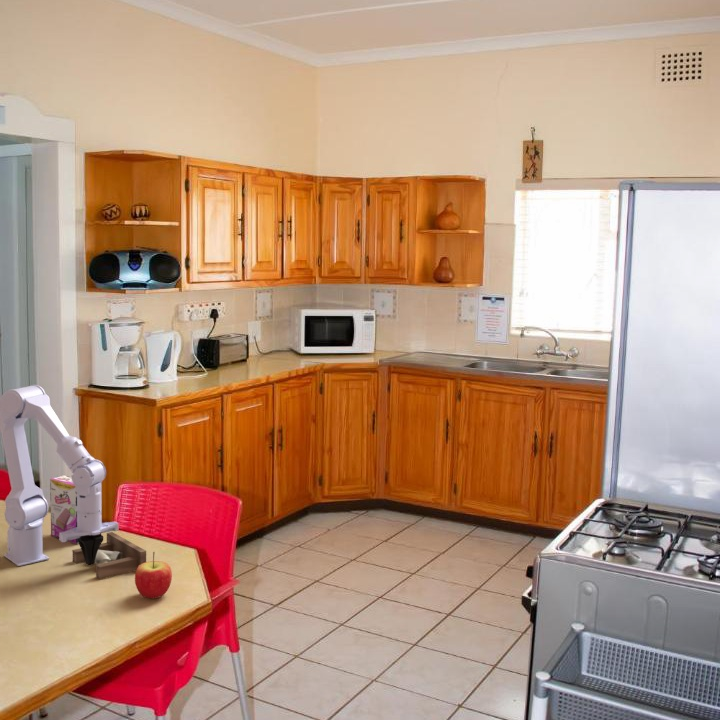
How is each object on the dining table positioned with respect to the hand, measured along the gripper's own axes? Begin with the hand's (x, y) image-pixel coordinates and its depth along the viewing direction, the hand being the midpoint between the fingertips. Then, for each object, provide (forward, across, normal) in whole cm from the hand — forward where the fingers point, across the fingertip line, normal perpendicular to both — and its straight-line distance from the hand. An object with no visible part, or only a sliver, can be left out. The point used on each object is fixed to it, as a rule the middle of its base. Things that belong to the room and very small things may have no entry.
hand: (89, 563), depth 211 cm
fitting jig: (+1, +5, 0) cm, 5 cm away
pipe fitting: (+2, +3, 0) cm, 4 cm away
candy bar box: (+2, +6, +24) cm, 25 cm away
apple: (+2, +4, -24) cm, 24 cm away
